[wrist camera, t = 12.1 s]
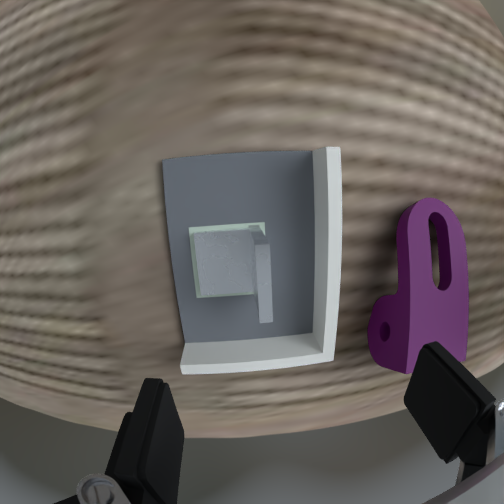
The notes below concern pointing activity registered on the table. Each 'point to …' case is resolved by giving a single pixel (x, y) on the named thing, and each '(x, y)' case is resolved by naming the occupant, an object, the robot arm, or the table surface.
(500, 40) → the table surface
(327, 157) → the tray
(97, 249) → the table surface
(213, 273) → the angle bracket
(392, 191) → the table surface
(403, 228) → the mounting bracket
